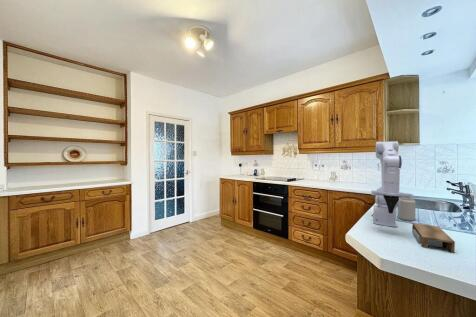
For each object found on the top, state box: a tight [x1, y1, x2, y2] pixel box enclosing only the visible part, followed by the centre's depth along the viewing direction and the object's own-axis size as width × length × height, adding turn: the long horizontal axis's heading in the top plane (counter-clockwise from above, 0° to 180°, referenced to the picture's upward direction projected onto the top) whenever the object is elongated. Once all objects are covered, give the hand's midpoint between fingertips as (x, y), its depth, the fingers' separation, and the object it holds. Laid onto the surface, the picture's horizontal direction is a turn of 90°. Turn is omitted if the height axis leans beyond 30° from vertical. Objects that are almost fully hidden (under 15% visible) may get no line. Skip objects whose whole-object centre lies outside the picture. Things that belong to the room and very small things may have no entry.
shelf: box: [411, 222, 456, 254], centre depth 83 cm, size 9×18×4 cm, turn 149°
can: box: [397, 197, 417, 222], centre depth 111 cm, size 8×8×12 cm
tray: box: [412, 229, 443, 248], centre depth 84 cm, size 7×10×3 cm
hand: (390, 212), depth 91 cm, fingers closed
